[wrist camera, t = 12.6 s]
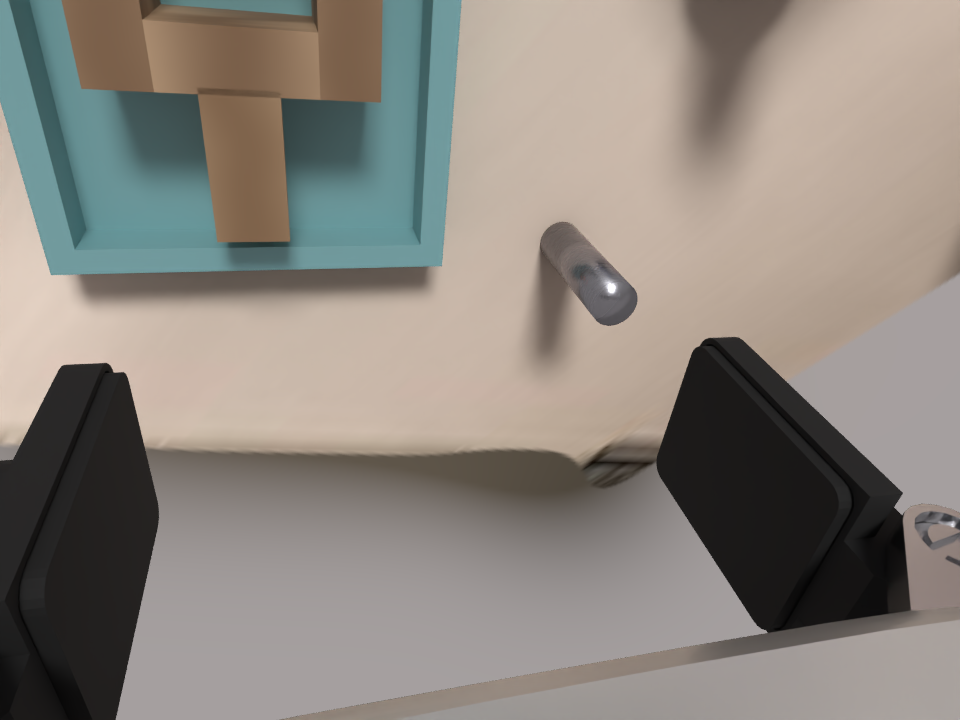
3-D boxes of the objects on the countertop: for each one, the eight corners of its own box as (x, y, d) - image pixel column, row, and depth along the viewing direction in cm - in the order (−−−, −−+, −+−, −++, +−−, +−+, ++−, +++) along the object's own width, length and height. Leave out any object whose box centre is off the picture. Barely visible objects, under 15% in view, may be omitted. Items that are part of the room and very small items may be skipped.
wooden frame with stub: (368, -232, 20) (386, -258, 17) (366, 202, 28) (379, 240, 25) (37, -292, 18) (-14, -336, 15) (135, 201, 25) (115, 243, 22)
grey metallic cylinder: (582, 221, 32) (642, 282, 27) (575, 259, 33) (631, 324, 28) (543, 222, 31) (597, 283, 26) (537, 260, 32) (588, 326, 27)
